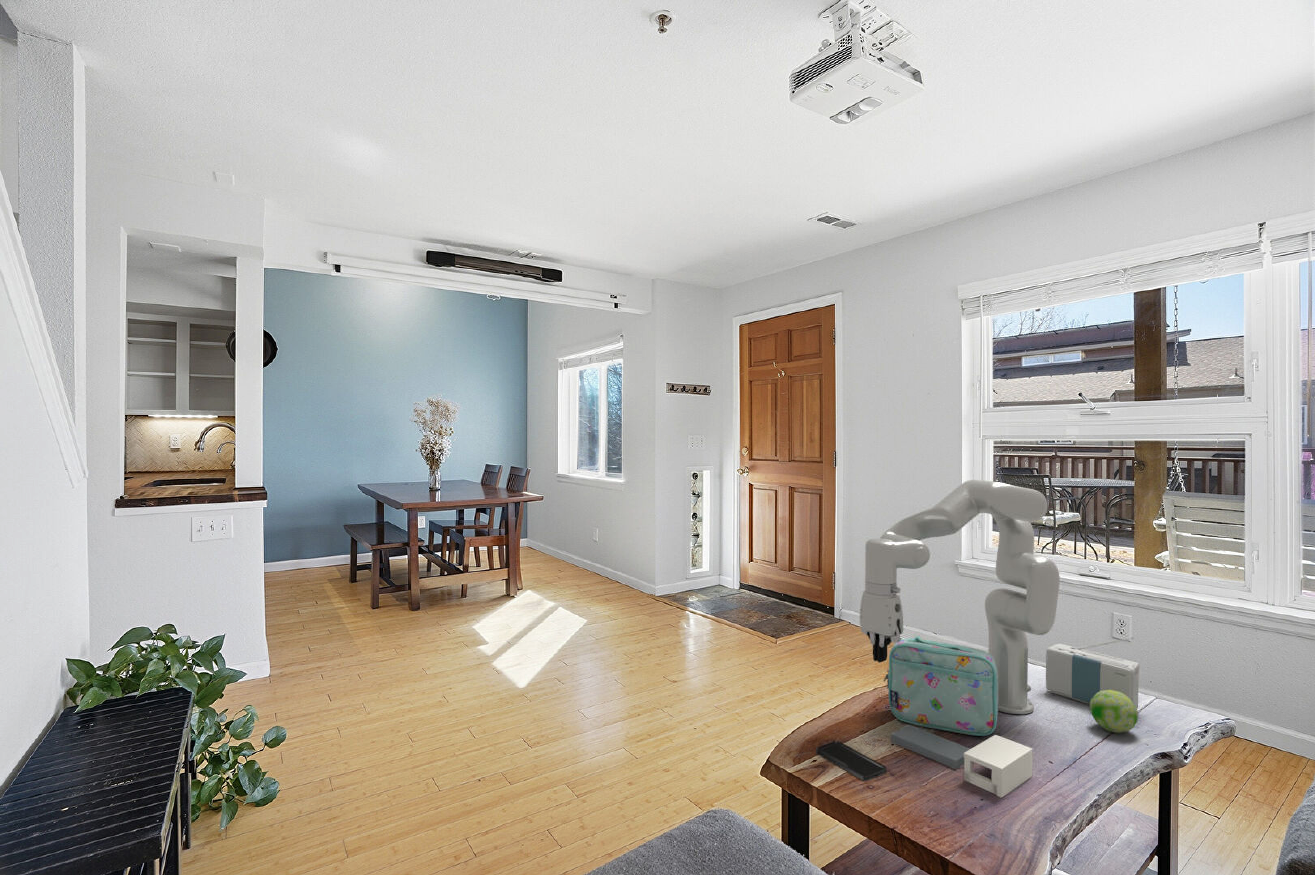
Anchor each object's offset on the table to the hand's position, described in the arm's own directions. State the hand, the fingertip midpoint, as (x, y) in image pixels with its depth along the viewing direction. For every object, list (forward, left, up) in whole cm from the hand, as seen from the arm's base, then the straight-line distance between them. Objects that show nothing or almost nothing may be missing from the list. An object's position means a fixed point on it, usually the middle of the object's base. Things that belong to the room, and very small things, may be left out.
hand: (879, 660), depth 163 cm
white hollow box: (0, +29, -17) cm, 34 cm away
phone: (+20, +6, -18) cm, 27 cm away
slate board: (0, +14, -18) cm, 22 cm away
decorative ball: (-46, +36, -17) cm, 61 cm away
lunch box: (-14, +8, -17) cm, 24 cm away
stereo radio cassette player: (-61, +26, -17) cm, 69 cm away
